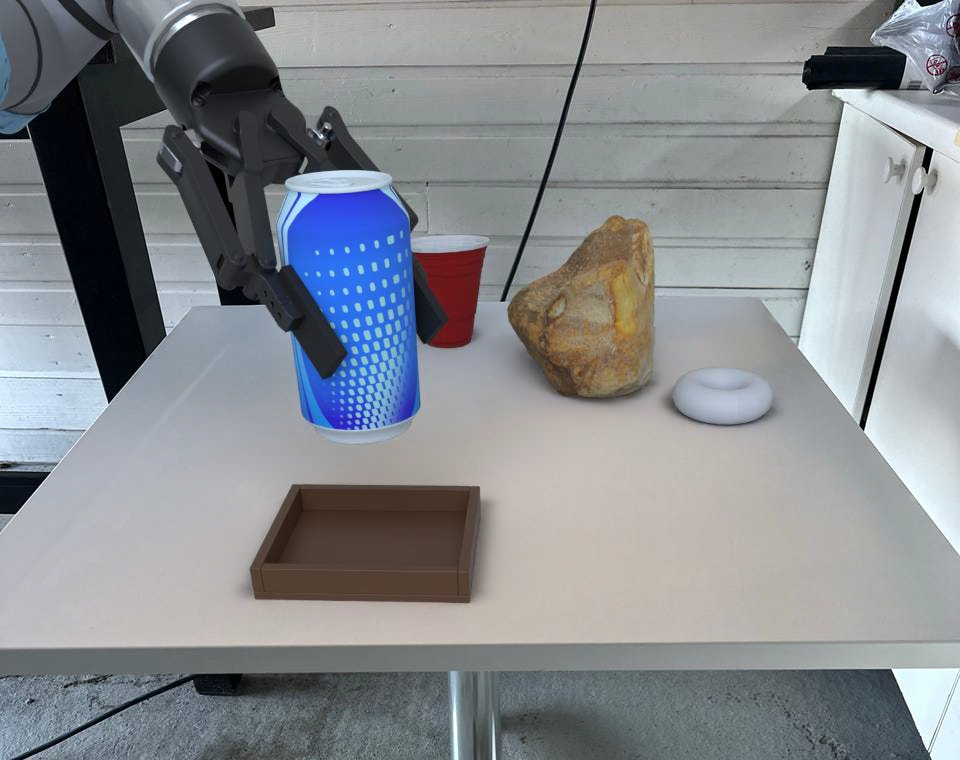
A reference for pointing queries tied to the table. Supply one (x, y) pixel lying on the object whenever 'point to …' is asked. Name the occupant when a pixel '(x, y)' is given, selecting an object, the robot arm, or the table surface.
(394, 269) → the beer can
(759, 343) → the table surface
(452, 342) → the plastic cup
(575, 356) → the rough brown rock
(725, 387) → the donut
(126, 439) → the table surface
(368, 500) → the tray
